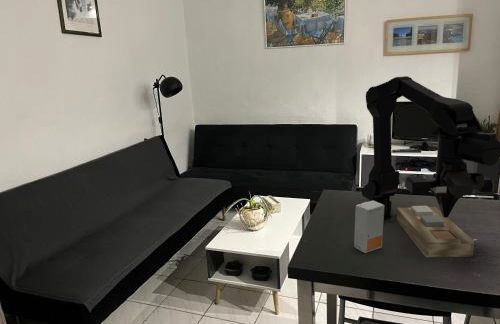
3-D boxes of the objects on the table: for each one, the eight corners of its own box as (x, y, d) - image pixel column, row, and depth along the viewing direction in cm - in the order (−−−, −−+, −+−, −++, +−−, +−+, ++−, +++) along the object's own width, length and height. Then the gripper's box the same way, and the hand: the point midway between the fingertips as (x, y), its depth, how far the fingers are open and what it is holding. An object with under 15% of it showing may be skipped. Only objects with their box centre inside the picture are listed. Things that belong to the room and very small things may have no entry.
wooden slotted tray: (426, 257, 92) (427, 242, 91) (396, 220, 113) (397, 207, 112) (472, 256, 92) (474, 241, 91) (434, 219, 113) (435, 206, 112)
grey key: (426, 230, 100) (426, 222, 99) (419, 223, 104) (420, 215, 103) (443, 229, 99) (444, 221, 99) (436, 222, 104) (437, 215, 103)
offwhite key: (416, 219, 106) (416, 211, 106) (410, 213, 111) (411, 206, 110) (432, 218, 106) (433, 211, 106) (426, 212, 110) (426, 205, 110)
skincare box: (365, 254, 95) (366, 210, 92) (353, 247, 99) (354, 204, 96) (383, 247, 98) (385, 204, 95) (370, 241, 102) (372, 199, 98)
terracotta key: (437, 247, 93) (437, 239, 93) (429, 239, 98) (430, 231, 97) (455, 247, 93) (456, 238, 93) (447, 238, 97) (448, 231, 97)
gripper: (423, 166, 82) (418, 232, 86) (512, 163, 81) (503, 230, 85) (405, 154, 93) (402, 213, 97) (484, 151, 92) (477, 211, 96)
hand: (445, 216), depth 93 cm, fingers closed
